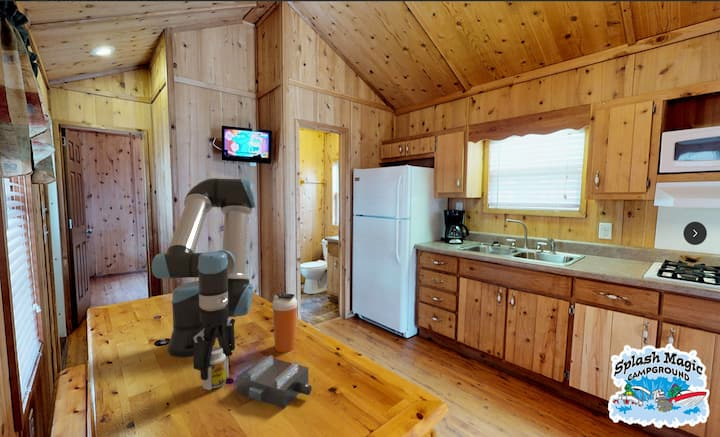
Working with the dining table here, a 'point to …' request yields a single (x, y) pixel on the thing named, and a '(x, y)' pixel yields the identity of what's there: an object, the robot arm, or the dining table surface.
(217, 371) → the supplement bottle
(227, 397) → the dining table surface
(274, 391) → the motor block
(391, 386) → the dining table surface
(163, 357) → the dining table surface
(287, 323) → the shaker bottle
